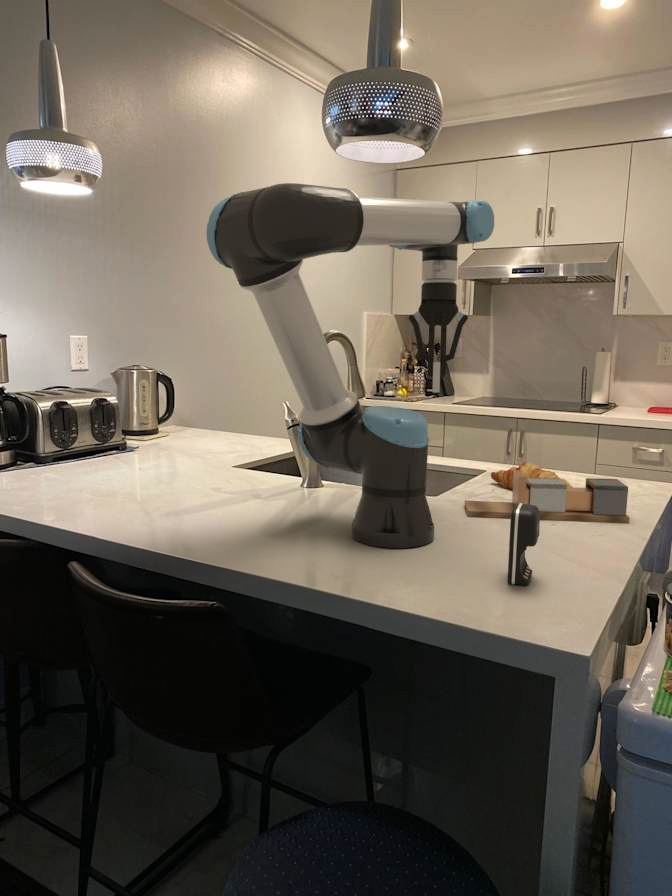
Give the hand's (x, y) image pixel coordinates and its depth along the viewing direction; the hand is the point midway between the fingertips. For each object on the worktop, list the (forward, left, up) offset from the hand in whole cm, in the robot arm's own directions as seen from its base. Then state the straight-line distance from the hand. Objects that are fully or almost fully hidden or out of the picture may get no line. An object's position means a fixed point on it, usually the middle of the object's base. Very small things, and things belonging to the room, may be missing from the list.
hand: (436, 391), depth 149 cm
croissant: (+27, -5, -25) cm, 37 cm away
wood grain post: (+14, -24, -23) cm, 36 cm away
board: (+11, -22, -24) cm, 35 cm away
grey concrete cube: (+11, -22, -23) cm, 34 cm away
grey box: (+21, -30, -23) cm, 43 cm away
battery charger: (-23, -46, -25) cm, 57 cm away
